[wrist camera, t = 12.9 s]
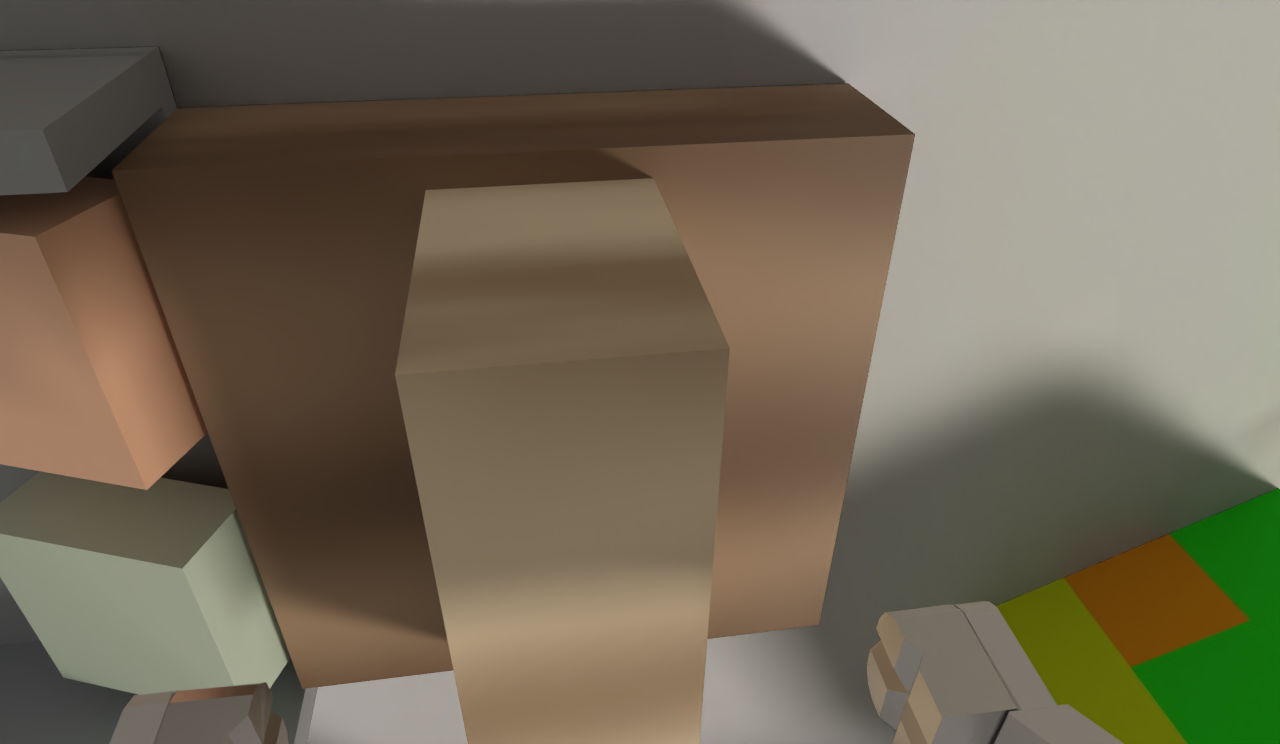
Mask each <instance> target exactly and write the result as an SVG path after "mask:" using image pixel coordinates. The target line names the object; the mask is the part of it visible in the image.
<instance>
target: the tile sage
mask: <svg viewBox="0 0 1280 744" xmlns="http://www.w3.org/2000/svg"><path fill="white" fill-rule="evenodd" d="M0 577H1V579H2V581H3V582H4V584H5V585H6V587H7V589H8V590H9V592H10V593H11V595H12V596H13V598H14V600H15V601H16V603H17V604H18V606H19V608H20V609H21V611H22V612H23V614H24V616H25V617H26V619H27V620H28V622H29V624H30V625H31V627H32V628H33V630H34V632H35V633H36V635H37V636H38V638H39V639H40V641H41V643H42V644H43V646H44V647H45V649H46V651H47V652H48V654H49V655H50V657H51V659H52V660H53V662H54V663H55V665H56V667H57V668H58V670H59V671H60V673H61V675H62V676H63V678H68V679H72V680H76V681H81V682H85V683H90V684H94V685H99V686H103V687H108V688H112V689H116V690H121V691H125V692H130V693H134V694H139V695H141V694H150V693H159V692H168V691H177V690H192V689H202V688H212V687H222V686H232V685H243V684H253V683H263V682H266V683H267V685H268V687H269V689H270V688H271V686H272V685H273V683H274V682H275V680H276V679H277V677H278V676H279V674H280V673H281V671H282V670H283V668H284V667H285V665H286V664H287V662H288V661H289V659H290V658H291V657H290V654H289V651H288V648H287V646H286V643H285V640H284V638H283V635H282V632H281V629H280V627H279V624H278V621H277V619H276V616H275V613H274V610H273V608H272V605H271V602H270V600H269V597H268V594H267V591H266V589H265V586H264V583H263V581H262V578H261V575H260V572H259V570H258V567H257V564H256V562H255V559H254V556H253V553H252V551H251V548H250V545H249V543H248V540H247V537H246V534H245V532H244V529H243V526H242V524H241V521H240V518H239V515H238V513H237V510H236V507H235V505H234V502H233V499H232V496H231V494H230V491H229V489H224V488H219V487H213V486H207V485H201V484H195V483H189V482H183V481H178V480H172V479H166V478H159V479H158V480H157V481H156V482H155V483H154V484H153V485H152V486H151V487H150V488H149V489H148V490H144V489H138V488H132V487H127V486H121V485H115V484H110V483H104V482H98V481H93V480H87V479H81V478H76V477H70V476H64V475H59V474H53V473H47V472H41V471H40V472H38V473H37V474H36V475H35V476H33V477H32V478H31V479H30V480H28V481H27V482H26V483H25V484H23V485H22V486H21V487H20V488H18V489H17V490H16V491H15V492H13V493H12V494H11V495H10V496H8V497H7V498H6V499H5V500H3V501H2V502H1V503H0Z"/></svg>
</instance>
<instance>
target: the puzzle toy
mask: <svg viewBox="0 0 1280 744" xmlns="http://www.w3.org/2000/svg"><path fill="white" fill-rule="evenodd" d="M996 607H997V608H998V610H999V611H1000V613H1001V615H1002V616H1003V618H1004V619H1005V621H1006V623H1007V624H1008V626H1009V628H1010V629H1011V631H1012V632H1013V634H1014V636H1015V637H1016V639H1017V641H1018V642H1019V644H1020V645H1021V647H1022V649H1023V650H1024V652H1025V653H1026V655H1027V657H1028V658H1029V660H1030V662H1031V663H1032V665H1033V666H1034V668H1035V670H1036V671H1037V673H1038V675H1039V676H1040V678H1041V679H1042V681H1043V683H1044V684H1045V686H1046V688H1047V689H1048V691H1049V692H1050V694H1051V696H1052V697H1053V699H1054V700H1055V702H1056V704H1057V705H1065V704H1068V705H1069V706H1071V707H1072V708H1074V709H1075V710H1077V711H1078V712H1079V713H1081V714H1082V715H1084V716H1085V717H1087V718H1088V719H1089V720H1091V721H1092V722H1094V723H1095V724H1097V725H1098V726H1099V727H1101V728H1102V729H1104V730H1105V731H1107V732H1108V733H1109V734H1111V735H1112V736H1114V737H1115V738H1117V739H1118V740H1119V741H1121V742H1122V743H1124V744H1280V489H1279V488H1278V489H1276V490H1273V491H1271V492H1269V493H1266V494H1264V495H1261V496H1259V497H1257V498H1254V499H1252V500H1249V501H1247V502H1245V503H1242V504H1240V505H1237V506H1235V507H1232V508H1230V509H1228V510H1225V511H1223V512H1220V513H1218V514H1216V515H1213V516H1211V517H1208V518H1206V519H1204V520H1201V521H1199V522H1196V523H1194V524H1192V525H1189V526H1187V527H1184V528H1182V529H1180V530H1177V531H1175V532H1172V533H1170V534H1168V535H1165V536H1163V537H1160V538H1158V539H1156V540H1153V541H1151V542H1148V543H1146V544H1144V545H1141V546H1139V547H1136V548H1134V549H1132V550H1129V551H1127V552H1124V553H1122V554H1120V555H1117V556H1115V557H1112V558H1110V559H1108V560H1105V561H1103V562H1100V563H1098V564H1096V565H1093V566H1091V567H1088V568H1086V569H1083V570H1081V571H1079V572H1076V573H1074V574H1071V575H1069V576H1067V577H1064V578H1062V579H1059V580H1057V581H1055V582H1052V583H1050V584H1047V585H1045V586H1043V587H1040V588H1038V589H1035V590H1033V591H1031V592H1028V593H1026V594H1023V595H1021V596H1019V597H1016V598H1014V599H1011V600H1009V601H1007V602H1004V603H1002V604H999V605H997V606H996Z"/></svg>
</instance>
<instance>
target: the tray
mask: <svg viewBox="0 0 1280 744" xmlns="http://www.w3.org/2000/svg"><path fill="white" fill-rule="evenodd" d="M176 109H177V106H176V103H175V100H174V96H173V93H172V90H171V87H170V83H169V80H168V77H167V74H166V70H165V67H164V64H163V61H162V57H161V54H160V51H159V48H158V47H130V48H93V49H57V50H21V51H0V195H20V194H40V193H61V192H68V191H70V190H71V189H72V188H73V187H74V186H75V185H76V184H77V183H78V182H79V181H81V180H82V179H83V178H84V177H94V178H104V179H114V176H113V173H112V170H113V169H114V168H115V167H116V166H117V165H118V164H119V163H120V162H121V161H122V160H123V159H124V158H125V157H126V156H127V155H129V154H130V153H131V152H132V151H133V150H134V149H135V148H136V147H137V146H138V145H139V144H140V143H141V142H142V141H143V140H144V139H145V138H146V137H147V136H148V135H149V134H150V133H151V132H153V131H154V130H155V129H156V128H157V127H158V126H159V125H160V124H161V123H162V122H163V121H164V120H165V119H166V118H167V117H168V116H169V115H170V114H171V113H172V112H173V111H174V110H176ZM114 180H115V179H114ZM38 472H40V471H36V470H30V469H24V468H19V467H13V466H7V465H2V464H0V503H1V502H2V501H3V500H5V499H6V498H7V497H8V496H10V495H11V494H12V493H13V492H15V491H16V490H17V489H18V488H20V487H21V486H22V485H23V484H25V483H26V482H27V481H28V480H30V479H31V478H32V477H33V476H35V475H36V474H37V473H38ZM160 478H166V479H172V480H178V481H183V482H189V483H195V484H201V485H207V486H213V487H219V488H224V489H229V488H228V486H227V483H226V480H225V477H224V475H223V472H222V469H221V467H220V464H219V461H218V458H217V456H216V453H215V450H214V448H213V445H212V442H211V439H210V437H209V434H208V433H207V434H206V435H205V436H204V437H203V438H201V439H200V440H199V441H198V442H197V443H196V444H195V445H194V446H193V447H192V448H191V449H190V450H189V451H188V452H187V453H186V454H185V455H184V456H182V457H181V458H180V459H179V460H178V461H177V462H176V463H175V464H174V465H173V466H172V467H171V468H170V469H169V470H168V471H167V472H166V473H165V474H163V475H162V476H161V477H160ZM317 688H318V687H313V688H305V689H302V686H301V684H300V681H299V678H298V676H297V673H296V670H295V667H294V665H293V662H292V659H291V658H290V659H289V661H288V662H287V664H286V665H285V667H284V668H283V670H282V671H281V673H280V674H279V676H278V677H277V679H276V680H275V682H274V683H273V685H272V686H271V688H270V691H271V693H272V695H273V697H274V698H273V702H272V706H271V712H272V713H274V714H276V715H278V716H280V717H282V719H283V721H284V724H285V726H286V729H287V735H288V742H289V744H307V739H308V734H309V729H310V724H311V719H312V714H313V708H314V703H315V698H316V693H317ZM134 695H139V694H134V693H130V692H125V691H121V690H116V689H112V688H108V687H103V686H99V685H94V684H90V683H85V682H81V681H76V680H72V679H68V678H63V676H62V675H61V673H60V671H59V670H58V668H57V667H56V665H55V663H54V662H53V660H52V659H51V657H50V655H49V654H48V652H47V651H46V649H45V647H44V646H43V644H42V643H41V641H40V639H39V638H38V636H37V635H36V633H35V632H34V630H33V628H32V627H31V625H30V624H29V622H28V620H27V619H26V617H25V616H24V614H23V612H22V611H21V609H20V608H19V606H18V604H17V603H16V601H15V600H14V598H13V596H12V595H11V593H10V592H9V590H8V589H7V587H6V585H5V584H4V582H3V581H2V579H1V577H0V744H109V743H110V741H111V738H112V736H113V733H114V731H115V728H116V726H117V723H118V721H119V718H120V716H121V713H122V711H123V709H124V708H125V707H126V705H127V704H128V703H129V701H130V700H131V699H132V698H133V696H134Z"/></svg>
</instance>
